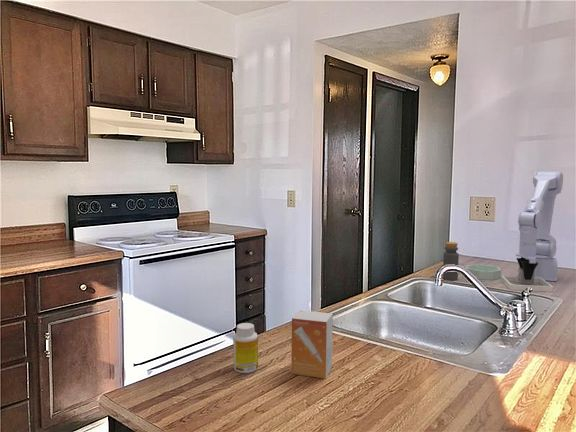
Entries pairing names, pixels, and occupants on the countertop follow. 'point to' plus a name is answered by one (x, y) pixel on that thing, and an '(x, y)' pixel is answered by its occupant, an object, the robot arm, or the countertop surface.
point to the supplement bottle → (245, 348)
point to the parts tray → (545, 287)
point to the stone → (521, 277)
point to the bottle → (451, 260)
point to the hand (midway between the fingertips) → (526, 278)
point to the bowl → (484, 271)
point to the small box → (312, 344)
